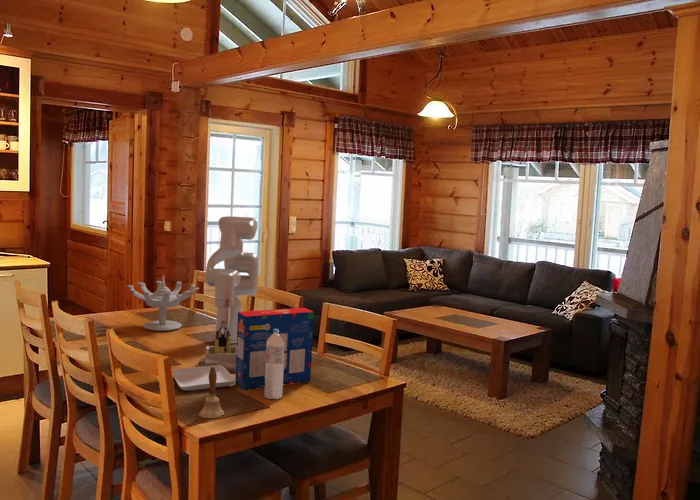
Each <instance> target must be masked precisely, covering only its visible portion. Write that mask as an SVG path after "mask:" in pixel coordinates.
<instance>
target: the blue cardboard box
mask: <svg viewBox="0 0 700 500" xmlns="http://www.w3.org/2000/svg"><path fill="white" fill-rule="evenodd" d="M314 313H315V312H314V311H313V310H311V309H308V308H307V307H294V308H293V307H292V308H281V309H280V308H278V309H263V310H249V311H248V310H246V311H242V312H238V321H237V343H236V346H237V349H236V373H235V376H234V378H235V379H236V382H235V383H234V384H235V386H237V387H238V386H239V387H240V388H241V389H240V388H239V387H238V388H239V389H240V390H241V391H243V390H245V391H249V390H248V389H252V390H257V389H256V388H260V389H264V388H263V387H264V377H265V376H264V375H265V358H266V340H267V338H268V337H269V336H270V335H271V334H273V333H274V332H273V329H278V330H279V331H278V334H280V335H281V336H282V337H283V338H284V340H285V345H284V374H283V375H284V376H283V384H290V385H292V384H291V383H298V382H305V383H307V382H306V381H310V382H311V378H312V358H313V340H314V339H313V337H314V318H315V314H314ZM298 384H299V383H298Z"/></svg>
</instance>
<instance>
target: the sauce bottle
mask: <svg viewBox="0 0 700 500" xmlns="http://www.w3.org/2000/svg"><path fill="white" fill-rule="evenodd" d="M219 330H220V329H219ZM219 330H218V331H216V330H215V331H216V332H215V338H214V346H215V353H230V346H231V343H230V340H231V335H230V332H229V328H228V331H226V337H227V346H226V347H219V346H218V342H219Z"/></svg>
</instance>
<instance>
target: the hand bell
mask: <svg viewBox="0 0 700 500" xmlns="http://www.w3.org/2000/svg"><path fill="white" fill-rule="evenodd" d="M216 380H217V374H216V371H215V367H211V369H210V372H209V383H210V389H209V396H207V397H206V398H205V399H204V400H205V401H204V406H203V407H202V409H201V410H200V411H199V413H198V416H199V417H200V418H203V419H206V418H216V417H220V416H222V415H224V416H225V414H224V413H225V411H224V410H223V409H222V407H221V404H220V398H219V397H217V396H216V388H215V384H216ZM222 417H223V416H222ZM220 418H221V417H220Z"/></svg>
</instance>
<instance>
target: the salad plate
mask: <svg viewBox="0 0 700 500" xmlns="http://www.w3.org/2000/svg"><path fill="white" fill-rule="evenodd" d="M211 367H215V371H216V374H217V380H216V384H215V389H218V388H217V387H219V388H224V387H229V386H232V385H234V384H235V382H236V379H235V376H233V375H232V373H229V372H228V371H227V370H226V369H225V368H224V367H223V366H222V365H212V366H201V367H199V366H194V367H193V366H192V367H191V366H190V367H184V368H176V369H175V368H174V369H171V370H172V371H173V377H172V378H173V379H174V380H175V382H176V384H177V386H178V387H179V389H180V390H182V391H198V390H199V391H200V390H208V389H209V390H210V383H209V372H210V369H211Z"/></svg>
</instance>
